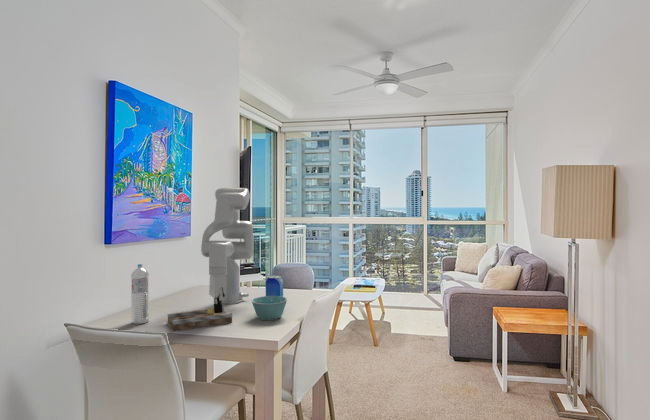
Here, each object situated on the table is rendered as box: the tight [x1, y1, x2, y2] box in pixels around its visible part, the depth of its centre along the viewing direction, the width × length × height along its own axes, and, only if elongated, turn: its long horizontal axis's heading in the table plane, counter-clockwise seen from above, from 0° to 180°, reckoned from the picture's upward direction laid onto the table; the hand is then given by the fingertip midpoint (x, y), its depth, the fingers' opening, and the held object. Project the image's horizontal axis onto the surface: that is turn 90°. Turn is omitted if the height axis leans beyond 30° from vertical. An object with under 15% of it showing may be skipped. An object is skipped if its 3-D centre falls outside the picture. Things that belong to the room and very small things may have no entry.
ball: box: [207, 307, 215, 316], centre depth 181 cm, size 3×3×3 cm
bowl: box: [251, 295, 288, 321], centre depth 187 cm, size 16×16×8 cm
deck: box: [167, 306, 233, 332], centre depth 179 cm, size 24×13×4 cm, turn 120°
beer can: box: [265, 275, 284, 297], centre depth 203 cm, size 8×8×16 cm
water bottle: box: [130, 263, 150, 325], centre depth 180 cm, size 7×7×25 cm
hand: (218, 312), depth 183 cm, fingers closed
